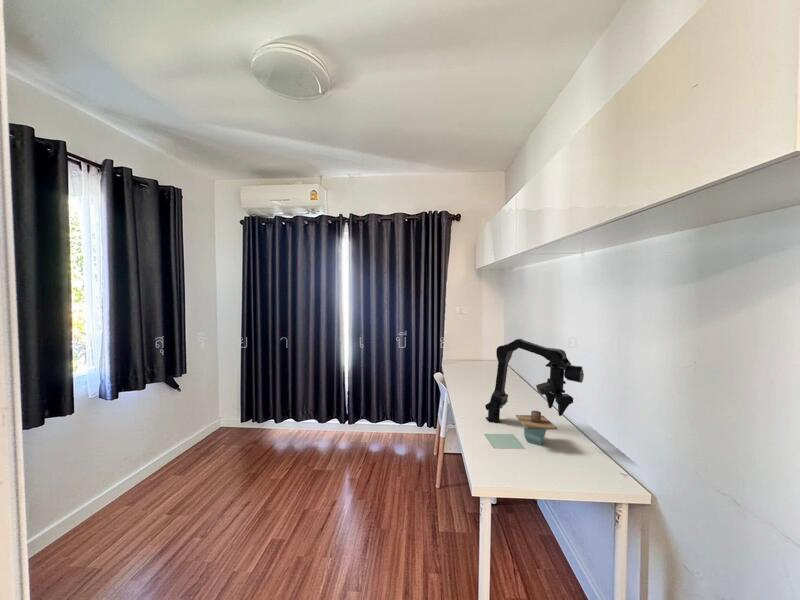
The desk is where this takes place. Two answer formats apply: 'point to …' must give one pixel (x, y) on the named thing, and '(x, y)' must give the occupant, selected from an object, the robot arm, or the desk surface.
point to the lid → (535, 421)
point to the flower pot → (534, 435)
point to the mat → (504, 441)
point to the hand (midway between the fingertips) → (554, 411)
